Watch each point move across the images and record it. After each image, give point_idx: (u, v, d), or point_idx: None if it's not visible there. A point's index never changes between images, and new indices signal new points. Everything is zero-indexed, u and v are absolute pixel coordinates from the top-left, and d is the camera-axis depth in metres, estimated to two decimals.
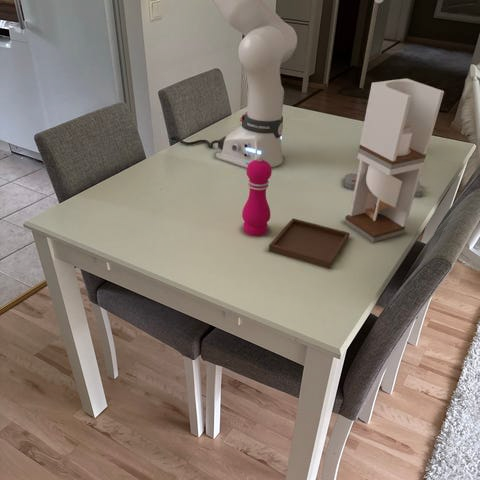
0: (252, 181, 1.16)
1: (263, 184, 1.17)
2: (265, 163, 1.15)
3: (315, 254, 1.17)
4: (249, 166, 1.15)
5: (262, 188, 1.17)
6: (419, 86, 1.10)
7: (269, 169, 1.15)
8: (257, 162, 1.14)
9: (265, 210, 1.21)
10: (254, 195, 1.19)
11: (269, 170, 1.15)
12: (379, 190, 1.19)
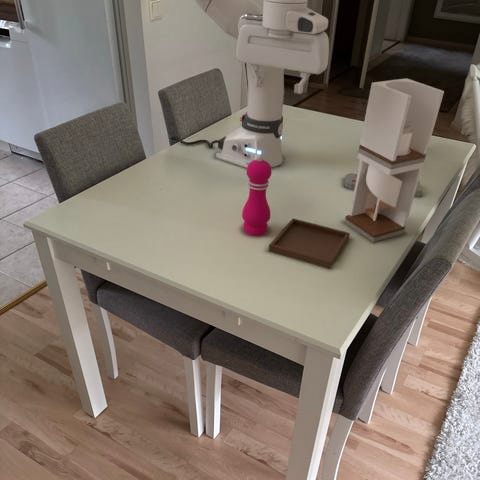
0: (252, 181, 1.16)
1: (263, 184, 1.17)
2: (265, 163, 1.15)
3: (315, 254, 1.17)
4: (249, 166, 1.15)
5: (262, 188, 1.17)
6: (419, 86, 1.10)
7: (269, 169, 1.15)
8: (257, 162, 1.14)
9: (265, 210, 1.21)
10: (254, 195, 1.19)
11: (269, 170, 1.15)
12: (379, 190, 1.19)
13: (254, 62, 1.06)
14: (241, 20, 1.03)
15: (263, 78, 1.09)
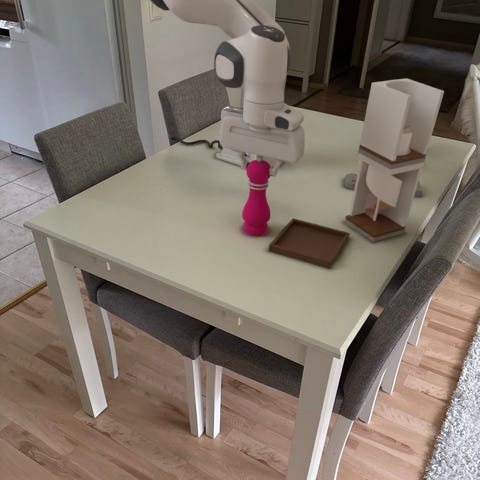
0: (252, 181, 1.16)
1: (263, 184, 1.17)
2: (265, 163, 1.15)
3: (315, 254, 1.17)
4: (249, 166, 1.15)
5: (262, 188, 1.17)
6: (419, 86, 1.10)
7: None
8: (257, 162, 1.14)
9: (265, 210, 1.21)
10: (254, 195, 1.19)
11: None
12: (379, 190, 1.19)
13: (236, 148, 1.14)
14: (223, 111, 1.11)
15: (249, 162, 1.17)
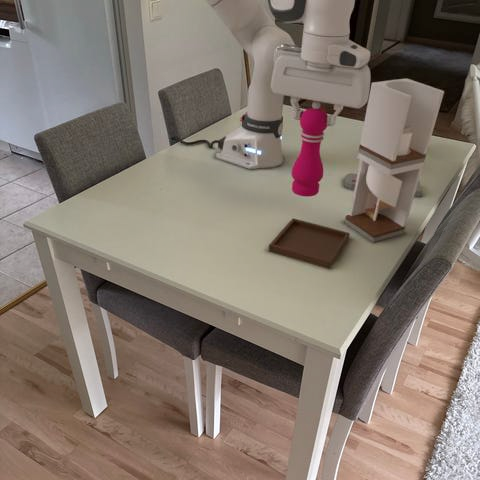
0: (306, 132, 1.04)
1: (319, 135, 1.04)
2: (322, 111, 1.02)
3: (315, 254, 1.17)
4: (304, 114, 1.02)
5: (317, 140, 1.04)
6: (419, 86, 1.10)
7: (326, 118, 1.02)
8: (313, 110, 1.01)
9: (318, 167, 1.08)
10: (307, 149, 1.06)
11: (326, 119, 1.02)
12: (379, 190, 1.19)
13: (290, 94, 1.01)
14: (277, 51, 0.99)
15: (302, 111, 1.04)
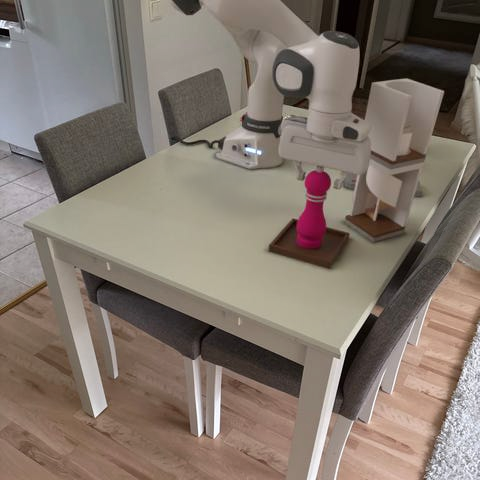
0: (310, 193, 1.11)
1: (322, 196, 1.11)
2: (325, 174, 1.09)
3: (315, 254, 1.17)
4: (308, 177, 1.10)
5: (321, 200, 1.12)
6: (419, 86, 1.10)
7: (329, 180, 1.10)
8: (317, 173, 1.09)
9: (322, 223, 1.16)
10: (311, 207, 1.14)
11: (329, 181, 1.10)
12: (379, 190, 1.19)
13: (296, 159, 1.09)
14: (284, 121, 1.06)
15: (305, 172, 1.12)
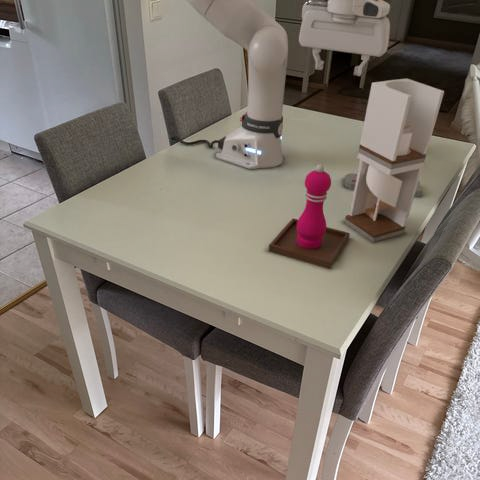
0: (311, 193, 1.11)
1: (322, 196, 1.11)
2: (325, 174, 1.09)
3: (315, 254, 1.17)
4: (308, 177, 1.10)
5: (321, 200, 1.12)
6: (419, 86, 1.10)
7: (329, 180, 1.10)
8: (317, 173, 1.09)
9: (322, 223, 1.16)
10: (311, 207, 1.14)
11: (329, 181, 1.10)
12: (379, 190, 1.19)
13: (316, 46, 1.12)
14: (305, 6, 1.10)
15: (323, 61, 1.16)
